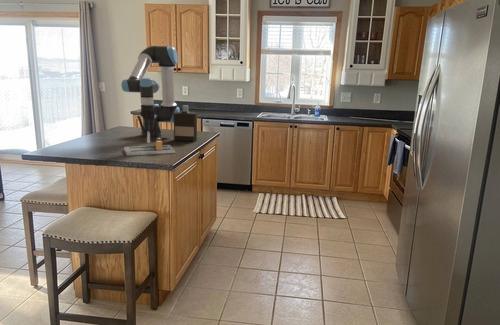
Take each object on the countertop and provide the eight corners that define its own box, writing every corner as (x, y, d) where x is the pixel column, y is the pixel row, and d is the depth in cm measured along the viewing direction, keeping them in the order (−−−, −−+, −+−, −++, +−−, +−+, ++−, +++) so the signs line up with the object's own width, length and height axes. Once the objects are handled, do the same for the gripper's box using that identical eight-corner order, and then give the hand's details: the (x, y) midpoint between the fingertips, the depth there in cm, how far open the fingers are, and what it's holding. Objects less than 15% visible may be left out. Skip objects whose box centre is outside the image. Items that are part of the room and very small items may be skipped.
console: (124, 150, 221) (124, 146, 220) (169, 147, 232) (169, 144, 231) (126, 155, 207) (126, 152, 207) (175, 153, 219) (174, 149, 218)
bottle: (175, 138, 261) (175, 104, 255) (197, 140, 261) (197, 105, 255) (173, 141, 254) (172, 105, 247) (195, 142, 253) (195, 106, 247)
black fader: (156, 145, 227) (156, 137, 225) (161, 145, 228) (160, 137, 226) (157, 147, 223) (157, 138, 222) (162, 146, 224) (162, 138, 223)
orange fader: (156, 148, 218) (155, 140, 217) (161, 148, 219) (160, 140, 218) (157, 150, 214) (157, 141, 213) (162, 150, 216) (162, 141, 214)
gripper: (136, 105, 210) (138, 144, 216) (159, 105, 216) (160, 143, 222) (135, 103, 217) (136, 141, 223) (157, 103, 222) (158, 140, 228)
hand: (148, 142), depth 222 cm, fingers closed
